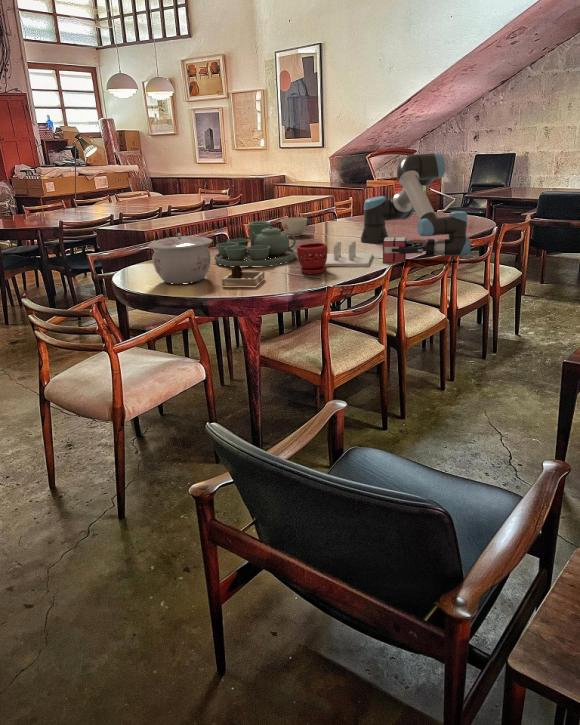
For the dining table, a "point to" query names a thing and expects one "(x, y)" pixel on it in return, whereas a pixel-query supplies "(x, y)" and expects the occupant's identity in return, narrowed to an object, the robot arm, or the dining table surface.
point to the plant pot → (312, 257)
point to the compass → (237, 272)
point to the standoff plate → (348, 257)
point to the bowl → (294, 225)
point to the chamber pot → (181, 258)
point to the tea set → (257, 247)
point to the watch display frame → (255, 276)
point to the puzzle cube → (394, 243)
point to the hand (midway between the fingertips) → (385, 247)
